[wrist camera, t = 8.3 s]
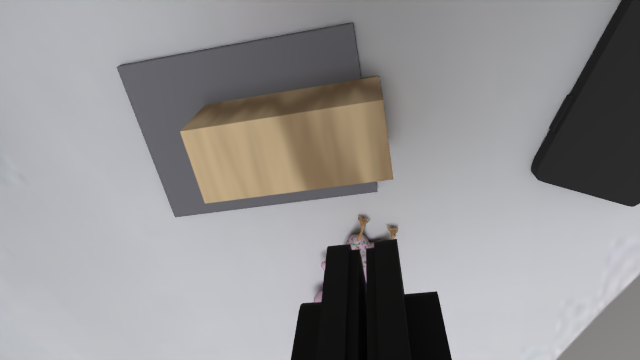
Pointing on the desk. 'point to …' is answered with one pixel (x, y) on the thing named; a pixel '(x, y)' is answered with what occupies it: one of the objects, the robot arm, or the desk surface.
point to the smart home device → (600, 119)
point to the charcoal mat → (231, 84)
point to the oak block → (290, 141)
